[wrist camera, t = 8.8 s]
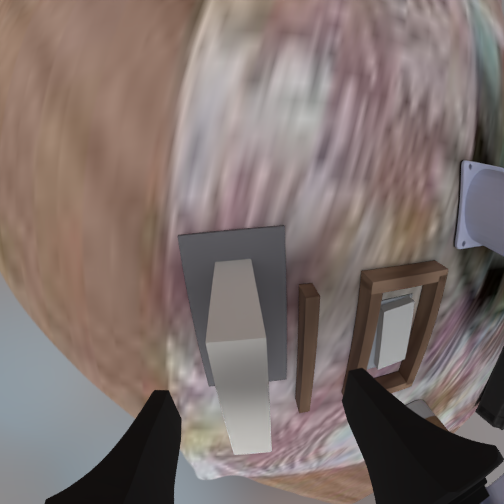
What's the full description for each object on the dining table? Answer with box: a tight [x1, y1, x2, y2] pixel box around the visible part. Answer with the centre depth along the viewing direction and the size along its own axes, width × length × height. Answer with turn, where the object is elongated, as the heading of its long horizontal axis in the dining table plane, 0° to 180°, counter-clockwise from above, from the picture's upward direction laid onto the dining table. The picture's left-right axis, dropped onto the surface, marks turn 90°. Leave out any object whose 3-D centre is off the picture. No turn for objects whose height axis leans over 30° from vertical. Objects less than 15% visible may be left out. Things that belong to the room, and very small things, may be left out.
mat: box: [178, 225, 287, 386], centre depth 20 cm, size 7×14×1 cm, turn 4°
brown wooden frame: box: [295, 260, 448, 413], centre depth 21 cm, size 13×14×2 cm
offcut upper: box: [374, 296, 415, 369], centre depth 22 cm, size 3×7×1 cm, turn 11°
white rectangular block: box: [206, 259, 272, 455], centre depth 16 cm, size 2×10×8 cm, turn 4°
